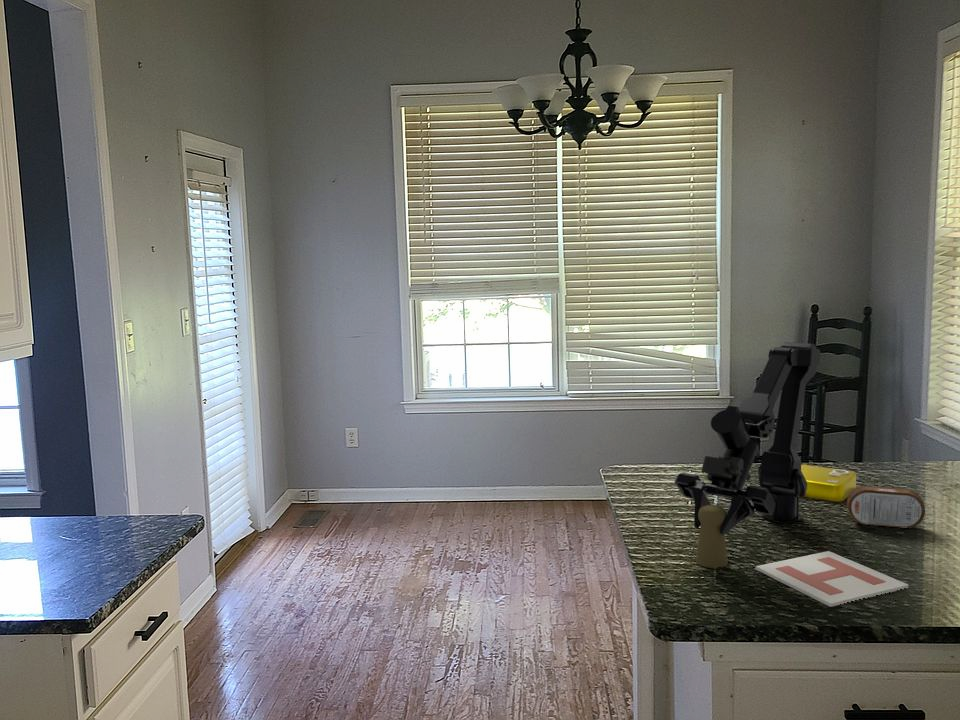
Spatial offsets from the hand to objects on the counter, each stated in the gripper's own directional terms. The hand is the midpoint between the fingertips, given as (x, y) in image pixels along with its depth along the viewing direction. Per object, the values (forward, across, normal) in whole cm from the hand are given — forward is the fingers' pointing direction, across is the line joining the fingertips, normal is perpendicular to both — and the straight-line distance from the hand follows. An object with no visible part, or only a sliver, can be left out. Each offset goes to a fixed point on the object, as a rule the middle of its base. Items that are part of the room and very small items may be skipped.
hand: (708, 530), depth 156 cm
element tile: (-38, -3, +48) cm, 62 cm away
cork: (+4, 0, +6) cm, 7 cm away
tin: (-26, +18, +36) cm, 48 cm away
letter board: (-1, +20, +10) cm, 22 cm away
